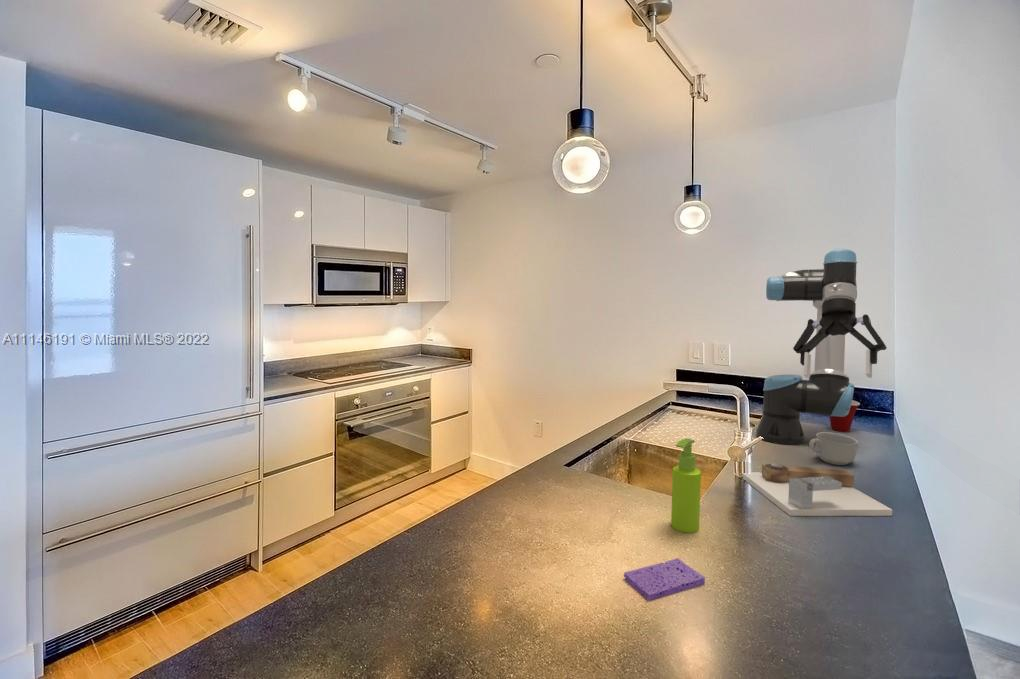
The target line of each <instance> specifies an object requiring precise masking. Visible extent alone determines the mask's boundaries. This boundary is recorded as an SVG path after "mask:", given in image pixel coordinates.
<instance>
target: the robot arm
mask: <svg viewBox="0 0 1020 679" xmlns="http://www.w3.org/2000/svg"><path fill="white" fill-rule="evenodd" d="M822 264H823V265H822V266H823V269H821V268H820V269H819V268H816V269H815V268H814V269H801V270H795V271H791V272H787V273H784V274H782V275H781V276H780V275H778V276H770V277H767V279H766V285H765V286H766V288H765V292H766V294H765V295H766V299H767V300H768V301H777V302H780V301H783V302H784V301H803V302H804V301H805V302H806V301H807V302H808V301H811V302H812V306H813V307H814V308H815V309H817V310H816V320H813V319H811V318H809V319H808V320H807V324H806V327H805V329H804V330H803V332H802V333H801V335H800V337H799V338H798V340H797V342H795V344H794V346H793V348H792V349H793V351H795V353H796V354H799V355H800V358H799V360H800V364H801V366H803V376H804V377H805V378H807V379H803V377H802V375H799V374H776V375H771V376H768V377H766V378H765V379H764V384H763V389H762V391H763V400H762V402H763V403H762V415H761V418H760V420H759V423H758V425H757V428H756V432H755V433H756V434H755V436H756V437H757V438H758V437H759V436H761V437H763V438H764V439H763V440H762V441H766V442H769V443H773V444H781V445H790V446H791V445H801V444H803V443H805V433H804V430H803V428H802V424H801V421H800V416H801V413H802V414H804V413H805V414H809V415H819V416H831V417H832V416H839V417H844V416H846V415H848V413H849V411H850V407H851V403H852V400H853V397H854V391H855V384H854V383H852V382H850V377H849V376H847V374H845V353H846V351H845V350H846V349H845V348H846V335H847V334H850V335H852V337H854V338H855V339H857V341H859V342H860V344H863V346H865V348H867V349H866V350H865V376H867V378H873V365H877V364H878V353H879V352H880V351H886V350H887V346H886V343H885V342H884V341H883V339H882V338H881V336H880V335H879V334H878V332H877V331H876V329H875V328H874V327H873V325H872V321H871V318H870V316H869V315H868V314H863V315H862V316H857V317H856V312H857V311H856V309H857V308H856V307H857V304H856V301H857V297H858V290H857V289H858V286H857V264H858V261H857V254H856V252H854V251H853V250H851V249H847V248H839V249H834V250H830V251H829V252H827V253H825V255H824V260H823V263H822ZM858 323H859V324H861V325H862V326H864V327H865V329H867V332H868V333H869V334H870V336H871V337H872V338H873V340H874V341H875V342H876V344H874V343H872V342H871V341H870V340H869V339H867V338H866V337H865V336H864V335H863V334H862V333H860V332H859V331H858V330H857V329H856V328H855V327H856V326H857V324H858ZM815 329H816V332H815ZM814 332H815V335H814V336H813V337H812V335H813V333H814ZM811 337H812V338H811ZM814 349H815V351H814V354H815V355H814V371H813V372H811V366H812V365H811V364H812V363H811V362H812V360H811V359H812V355H811V354H810V353H811V352H812V351H813V350H814Z"/></svg>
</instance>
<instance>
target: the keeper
mask: <svg viewBox="0 0 1020 679" xmlns="http://www.w3.org/2000/svg"><path fill="white" fill-rule="evenodd" d="M841 488H842V482H839V481H837V480H835V479H833V478H831V477H829V476H825V477H808V478H791V479H789V496H788V502H789V503H791V504H792V505H794V506H796V507H797V508H799V509H812V499H813V491H820V490H836V489H841Z"/></svg>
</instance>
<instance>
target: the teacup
mask: <svg viewBox="0 0 1020 679" xmlns="http://www.w3.org/2000/svg"><path fill="white" fill-rule="evenodd" d="M815 436H816V437H814V438H811V439H810V441H809V442H808V447H809V449H810V450H811V451H812V452H813V453H814V454H816V456H817V457H819V458H820V460H821V461H823V462H825V463H828V464H830V465H835V466H845V465H848V464H850V463H852V462H853V461H854V460H855V458H856V455H857V450H858V444H859V441H858V440H857V439H856V438H854V437H851V436H848V435H845V434H842V433H836V432H829V431H823V432H817V433H816V434H815Z"/></svg>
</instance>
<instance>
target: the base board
mask: <svg viewBox="0 0 1020 679" xmlns="http://www.w3.org/2000/svg"><path fill="white" fill-rule="evenodd" d="M742 477H743V478H742V480H743V481H745V480H746V481H745V482H747V484H749V485H750V486H751V485H752V486H751V487H753V488H754V489H755V490H756V491H758V492H759V493H761V495H763V496H764V497H765V498H766V499H768V500H769V501H771V503H773V504H774V505H776V506H777V507H778V508H779V509H781V510H782V511H783V512H785V513H786V514H787V515H788V516H790V517H792V516H793V517H795V516H797V517H802V516H803V517H807V516H808V517H811V516H812V517H817V516H818V517H827V516H828V517H835V516H836V517H838V516H839V517H843V516H844V517H850V516H851V517H855V516H857V517H864V516H865V517H869V516H870V517H884V516H885V517H892V516H893V509H891V508H890V507H888V506H886V505H885V504H883V503H881V502H880V501H877V500H875V499H874V498H872V497H870V496H869V495H867V494H865V493H863V492H862V491H860V490H858V489H857V488H855V487H853V486H842V488H841V489H836V490H820V491H813V499H812V509H799V508H797V507H796V506H794V505H792V504H791V503H789V502H788V496H789V482H775V481H771V480H766V479H765V478H764V477H763V475H762V471H761V472H755V471H754V472H752V471H751V474H746V473H742Z"/></svg>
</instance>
